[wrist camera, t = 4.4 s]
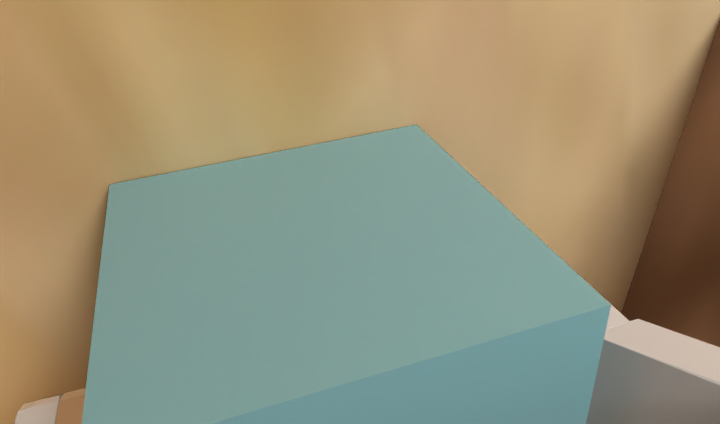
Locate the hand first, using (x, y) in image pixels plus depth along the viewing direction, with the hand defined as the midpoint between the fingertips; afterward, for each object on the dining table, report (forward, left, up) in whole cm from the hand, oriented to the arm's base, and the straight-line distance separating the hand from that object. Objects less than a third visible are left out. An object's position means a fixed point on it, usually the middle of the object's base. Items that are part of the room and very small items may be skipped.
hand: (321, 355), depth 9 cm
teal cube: (0, 0, -2) cm, 2 cm away
